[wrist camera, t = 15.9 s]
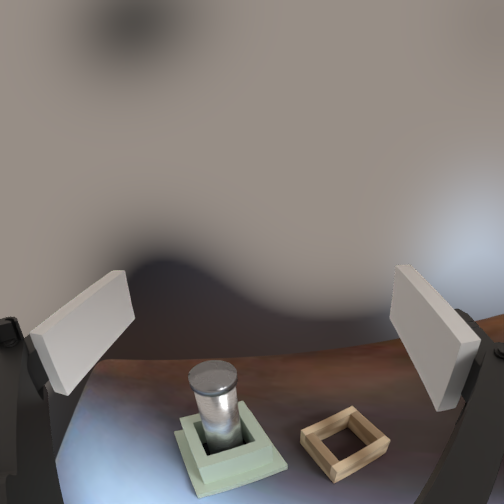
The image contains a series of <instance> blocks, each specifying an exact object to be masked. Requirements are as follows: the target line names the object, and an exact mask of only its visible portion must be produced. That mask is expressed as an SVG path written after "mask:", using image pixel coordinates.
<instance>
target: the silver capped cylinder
mask: <svg viewBox="0 0 504 504" xmlns="http://www.w3.org/2000/svg"><path fill="white" fill-rule="evenodd" d="M188 379H189V383H190V387H191V389H192V390H193V391H194V392H195V397H196V401H197V405H198V409H199V413H200V417H201V421H202V425H203V429H204V433H205V437H206V440H207V444H208V448H209V451H210V455H213V454H216V453H220V452H223V451H226V450H230V449H233V448H236V447H239V446H242V445H243V438H242V431H241V424H240V416H239V409H238V401H237V393H236V385H237V381H238V379H237V371H236V369H235V367H234V366H233V365H232V364H230V363H228V362H225V361H220V360H211V361H206V362H202V363H200V364H198V365H196V366H195V367H193V368H192V369H191V370H190V372H189V375H188Z"/></svg>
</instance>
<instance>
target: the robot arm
mask: <svg viewBox="0 0 504 504" xmlns="http://www.w3.org/2000/svg"><path fill="white" fill-rule="evenodd" d="M134 319H135V316H134V312H133V308H132V303H131V299H130V294H129V289H128V285H127V280H126V275H125V271H122V270H120V271H119V270H114V271H113V270H112V271H111V272H110V273H108V274H107V275H105V276H104V277H103V278H101V279H100V280H98V281H97V282H96V283H94V284H93V285H91V286H90V287H89V288H87V289H86V290H85V291H83V292H82V293H80V294H79V295H78V296H76V297H75V298H74V299H72V300H71V301H70V302H68V303H67V304H66V305H64V306H63V307H62V308H60V309H59V310H58V311H57V312H55V313H54V314H52V315H51V316H50V317H48V318H47V319H46V320H45V321H43V322H42V323H41V324H40V325H38V326H37V327H36V328H34V329H33V330H32V331H31V332H29V335H28V336H27V337H25V338H24V337H23V334H22V331H21V329H20V326H19V323H18V321H17V318H15V317H6V318H3V319H0V504H64V502H63V498H62V493H61V489H60V484H59V479H58V474H57V469H56V463H55V457H54V451H53V444H52V436H51V427H50V417H49V406H48V405H49V404H48V392H47V389H46V387H45V384H46V382H47V381H48V380H49V381H50V383H51V385H52V387H53V389H54V391H55V392H57V393H60V394H64V395H67V396H68V395H69V394H70V393H71V392H72V390H73V389H74V388H75V387H76V385H77V384H78V383H79V382H80V381H81V380H82V379H83V377H84V376H85V375H86V374H87V373H88V371H89V370H90V369H91V368H92V367H93V366H94V364H95V363H96V362H97V361H98V360H99V359H100V358H101V356H102V355H103V354H104V353H105V352H106V351H107V350H108V348H109V347H110V346H111V345H112V344H113V343H114V342H115V340H116V339H117V338H118V337H119V336H120V335H121V334H122V333H123V331H124V330H125V329H126V328H127V327H128V326H129V325H130V323H131V322H132V321H133V320H134ZM390 320H391V322H392V324H393V326H394V327H395V329H396V331H397V333H398V335H399V337H400V339H401V340H402V342H403V344H404V346H405V348H406V350H407V352H408V354H409V356H410V358H411V360H412V362H413V363H414V365H415V367H416V369H417V371H418V373H419V375H420V377H421V380H422V382H423V384H424V386H425V388H426V390H427V392H428V394H429V396H430V398H431V400H432V403H433V405H434V407H435V409H436V411H437V412H440V411H444V410H449V409H453V408H456V406H457V404H458V401H459V399H460V397H461V394H462V396H463V398H464V400H465V402H466V403H465V405H464V407H463V409H462V412H461V414H460V416H459V418H458V420H457V422H456V424H455V425H456V426H455V428H454V431H453V433H452V435H451V437H450V439H449V442H448V444H447V446H446V448H445V450H444V452H443V454H442V456H441V458H440V460H439V462H438V464H437V465H436V467H435V469H434V471H433V473H432V475H431V476H430V478H429V480H428V482H427V483H426V485H425V487H424V488H423V490H422V492H421V493H420V495H419V496H418V498H417V500H416V501H415V503H414V504H487V501H488V499H489V496H490V494H491V491H492V488H493V485H494V483H495V480H496V477H497V474H498V471H499V468H500V464H501V461H502V458H503V454H504V343H501V342H498V343H494V342H493V341H492V340H491V339H490V337H489V336H488V335H487V334H486V333H485V332H484V331H483V330H482V329H481V328H479V325H478V324H477V323H476V322H474V320H473V319H472V318H471V317H470V316H469V315H468V314H467V313H465V312H463V311H461V310H460V309H453V308H452V307H451V306H450V305H449V304H448V303H447V302H446V300H445V299H444V298H443V297H442V296H441V295H440V294H439V293H438V292H437V291H436V290H435V289H434V288H433V287H432V286H431V285H430V284H429V283H428V282H427V281H426V280H425V279H424V278H423V277H422V276H421V275H420V274H419V273H418V272H417V271H416V270H415V269H414V268H413V267H412V266H411V265H396V267H395V278H394V287H393V296H392V304H391V311H390Z"/></svg>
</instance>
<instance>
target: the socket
mask: <svg viewBox="0 0 504 504" xmlns="http://www.w3.org/2000/svg"><path fill="white" fill-rule="evenodd" d="M238 409H239V416H240V424H241V431H242V437H243V439H244V440H245V442H246V444H245V445H242V446H239V447H236V448H233V449H230V450H226V451H223V452H220V453H216V454H213V455H209V456H207V455H206V453H205V451H204V448H203V446H202V444H203V443H207V440H206V437H205V433H204V429H203V425H202V421H201V417H200V413H198V414H194V415H190V416H186V417H182V418H180V421H181V425H182V428H183V430H179V431H175V432H174V434H175V437H176V440H177V443H178V446H179V449H180V452H181V455H182V457H183V460H184V463H185V466H186V468H187V471H188V474H189V476H190V479H191V482H192V484H193V487H194V489H195V492H196V494H197V496H198V499H199V498H203V497H206V496H210V495H214V494H217V493H221V492H224V491H227V490H231V489H234V488H237V487H240V486H243V485H246V484H249V483H252V482H255V481H257V480H260V479H263V478H266V477H268V476H271V475H273V474H276V473H279V472H281V471H283V470H286V469H288V465H287V463H286V462H285V461H284V459H283V458H282V456H281V455H280V454H279V452H278V451H277V449H276V448H275V446H274V445H273V444H272V442H271V441H270V439H269V438H268V436H267V435H266V433H265V432H264V430H263V429H262V427H261V426H260V424H259V423H258V421H257V420H256V418H255V417H254V415H253V414H252V412H251V411H249V409H248V408H247V406H246V404H245V403H244V401H240V402H238Z"/></svg>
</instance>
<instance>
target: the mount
mask: <svg viewBox="0 0 504 504" xmlns="http://www.w3.org/2000/svg"><path fill="white" fill-rule="evenodd" d="M347 427H348V428H349V429H350V430H351V431H352V432H353V433H354V434H355V435H356V436H357V437H359V438H360V439H361V440H362V441H363V442H364V443H365V444H366V445H367V447H365V448H363V449H362V450H360V451H358V452H356V453H355V454H353V455H351V456H349V457H348V458H346V459H344V460H342V461H339V460H338V459H337V458H336V457H335V456H334V455H333V454H332V453H331V451H330V450H329V449H328V448H327V447H326V446H325V445H324V444H323V442H322V441H321V440H323V439H325V438H327V437H329V436H331V435H333V434H335V433H337V432H339V431H341V430H343V429H345V428H347ZM300 443H301V445H302V446H303V447H304V448H305V450H306V451H307V452H308V453H309V455H310V456H311V457H312V458H313V459H314V461H315V462H316V463H317V464H318V465H319V467H320V468H321V469H322V470H323V471H324V473H325V474H326V475H327V476H328V477H329V478H330V480H331V481H332V482H333V483H336V482H338V481H340V480H341V479H343V478H345V477H347V476H349V475H350V474H352V473H354V472H356V471H357V470H359V469H361V468H362V467H364V466H366V465H367V464H369V463H371V462H372V461H374V460H375V459H377V458H378V457H380V456H382V455H383V454H385V453H386V451H387V448H388V446H389V443H390V439H389V438H388V437H386V436H385V435H384V434H383V433H382V432H381V431H380V430H379V429H377V428H376V427H375V426H374V425H373V424H372V423H371V422H369V421H368V420H367V419H366V418H365V417H364V416H363V415H362V414H361V413H359V412H358V411H357V410H356V409H355V408H354V407H353V406H351V407H349V408H347V409H345V410H343V411H341V412H339V413H337V414H335V415H333V416H331V417H329V418H327V419H325V420H322V421H320V422H318V423H316V424H314V425H311V426H309V427H307V428H305V429H302V430H301V437H300Z"/></svg>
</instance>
